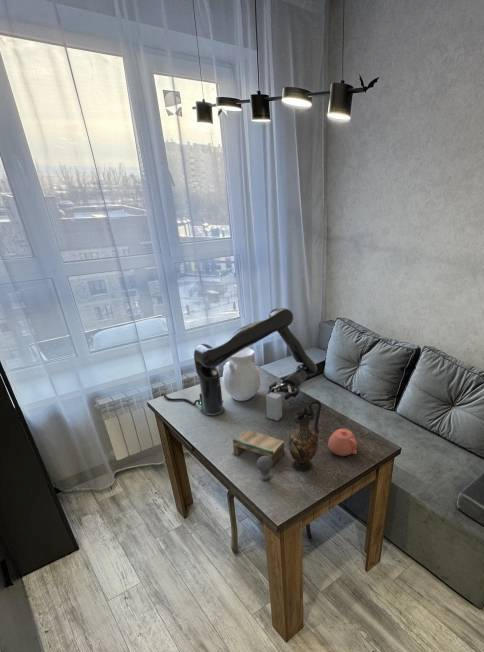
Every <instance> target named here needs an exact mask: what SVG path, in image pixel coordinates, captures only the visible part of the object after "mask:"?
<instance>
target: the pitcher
mask: <svg viewBox="0 0 484 652" xmlns="http://www.w3.org/2000/svg"><path fill="white" fill-rule="evenodd" d="M254 357H255V350H253V349H252V348H250V347H247V348H245V349H243V350H242V351H240V352H238V353H236V354H234V355H233V356H231V357H230V358H228V359H227V360H228V361H227V362H225V364H224V365H223V368H222V369H223V371H222V385H223V387H224V389H225V391H226V392H227V394H228V396H230V397H231V398H233V399H234V400H235V401H238V402H245V401H248V400H251V398H253V397H255V395H256V393H258V391H259V390H260V388H261V374H260V370H259V368H258V367H257V366H256V362H253V359H254Z"/></svg>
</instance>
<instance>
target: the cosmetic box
mask: <svg viewBox="0 0 484 652" xmlns="http://www.w3.org/2000/svg"><path fill="white" fill-rule="evenodd" d="M265 400H266V402H265V403H266V418H267V419H270V420H274V421H277V422H278V421H280V419H281V418H283V403H282V401H283V399H282V394H280V393H279V394H278V393H276V392H274V393H272V392H270V393H269V394H266V396H265Z"/></svg>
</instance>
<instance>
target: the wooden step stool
mask: <svg viewBox="0 0 484 652" xmlns="http://www.w3.org/2000/svg"><path fill="white" fill-rule="evenodd" d="M232 446H233V455H235V456H240V454H242V452H244V450H246V451H250V452H253V453H257V454H259V455H262V456H268V457H270V458H271V459H272V461H273V466H274V465H275V464H276V463H277V462H278V461H279V460H280V458H281V457H282V456H284V453H285V440H282V439H278V438H275V437H271V436H268V435H266V434H261V433H258V432H255V431H251V430H248V429H246V430H245V431H243V433H241V435H239V436H238V437H237V438H236V437H235V438H234V437H233V438H232Z"/></svg>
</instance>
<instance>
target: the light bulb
mask: <svg viewBox="0 0 484 652" xmlns="http://www.w3.org/2000/svg"><path fill="white" fill-rule="evenodd" d="M273 467H274V465H273V461H272V459H271V458H270V457H268V456H266V455H262V456H260V457H259V458H258V459H257V461H256V468H257V470H259V471H260V474H261V479H263V480H268V479H269V478H270V471H271V470H272V469H273Z"/></svg>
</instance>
